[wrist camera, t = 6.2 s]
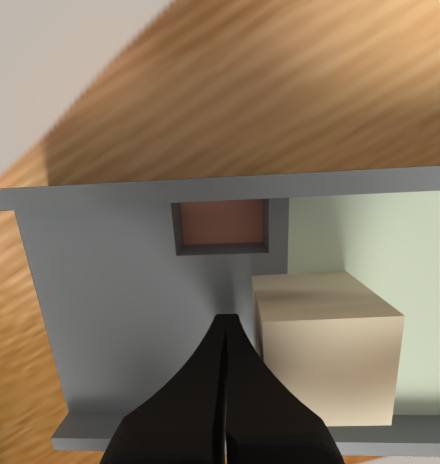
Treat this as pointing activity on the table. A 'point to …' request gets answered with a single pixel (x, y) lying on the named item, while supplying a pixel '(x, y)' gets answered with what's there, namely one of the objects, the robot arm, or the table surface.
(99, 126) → the table surface
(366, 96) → the table surface
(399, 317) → the birch block
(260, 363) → the robot arm
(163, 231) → the trap box
